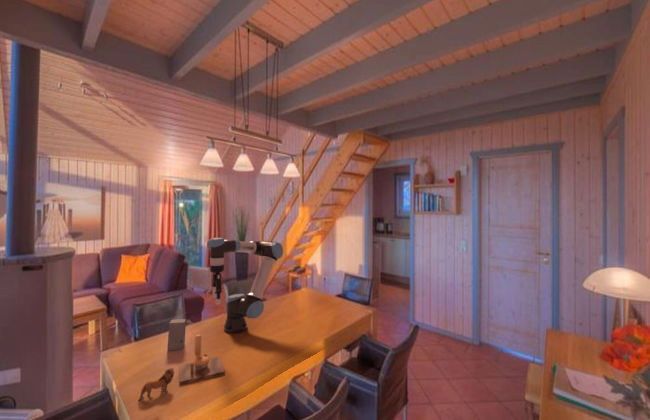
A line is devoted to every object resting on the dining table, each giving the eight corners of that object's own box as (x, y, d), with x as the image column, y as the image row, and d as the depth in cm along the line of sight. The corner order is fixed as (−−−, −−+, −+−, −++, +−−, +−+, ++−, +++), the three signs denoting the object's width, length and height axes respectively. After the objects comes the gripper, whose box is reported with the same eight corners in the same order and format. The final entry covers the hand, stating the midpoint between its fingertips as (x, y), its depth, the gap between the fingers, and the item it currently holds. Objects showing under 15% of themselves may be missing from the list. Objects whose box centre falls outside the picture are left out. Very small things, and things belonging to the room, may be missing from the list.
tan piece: (210, 363, 143) (211, 342, 143) (196, 367, 139) (196, 345, 139) (204, 352, 153) (204, 333, 153) (190, 356, 149) (190, 336, 149)
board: (220, 359, 155) (220, 348, 155) (224, 374, 141) (224, 362, 141) (179, 368, 146) (179, 356, 146) (179, 385, 132) (179, 372, 132)
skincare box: (167, 351, 163) (167, 323, 163) (170, 345, 170) (171, 319, 170) (183, 349, 165) (183, 322, 166) (185, 344, 172) (186, 317, 172)
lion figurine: (170, 384, 133) (171, 364, 133) (176, 388, 129) (176, 368, 129) (135, 400, 121) (135, 379, 121) (140, 406, 118) (140, 384, 118)
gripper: (227, 268, 156) (226, 306, 156) (220, 260, 178) (220, 294, 178) (212, 269, 153) (212, 308, 153) (208, 261, 175) (207, 295, 175)
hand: (216, 301), depth 166 cm, fingers open, 13 cm apart
